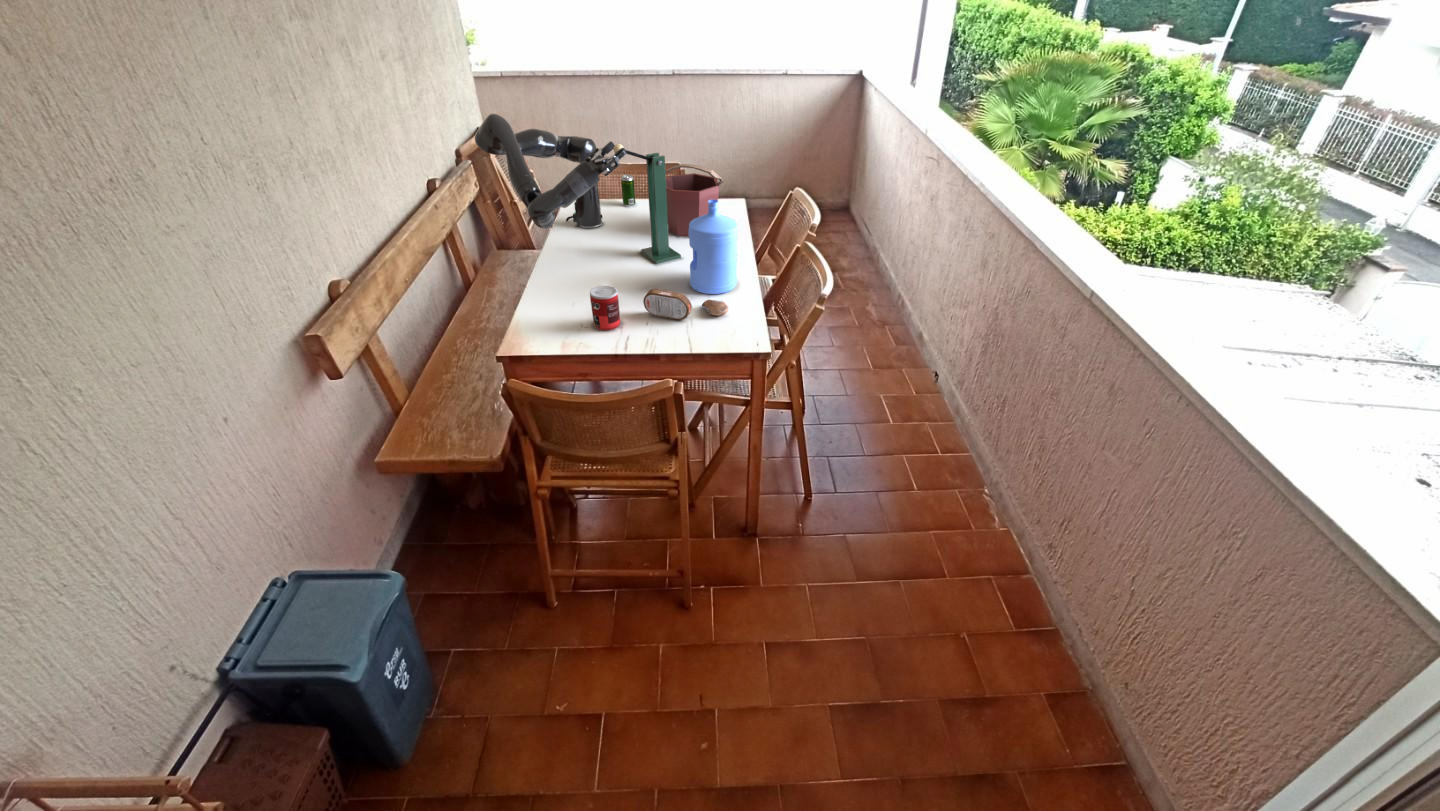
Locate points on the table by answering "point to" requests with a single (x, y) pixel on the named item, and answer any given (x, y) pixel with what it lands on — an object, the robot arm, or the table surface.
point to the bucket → (689, 197)
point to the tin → (667, 304)
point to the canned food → (605, 307)
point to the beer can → (628, 190)
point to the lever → (632, 153)
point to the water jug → (713, 252)
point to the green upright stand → (658, 212)
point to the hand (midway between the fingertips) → (619, 146)
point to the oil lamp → (715, 307)
